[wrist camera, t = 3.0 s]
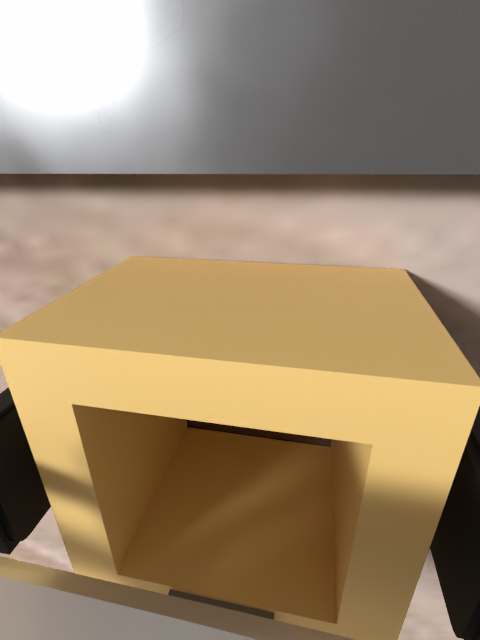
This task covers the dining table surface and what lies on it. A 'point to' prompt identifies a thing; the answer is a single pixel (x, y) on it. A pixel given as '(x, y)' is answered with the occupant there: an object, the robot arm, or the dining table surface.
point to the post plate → (240, 87)
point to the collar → (241, 450)
